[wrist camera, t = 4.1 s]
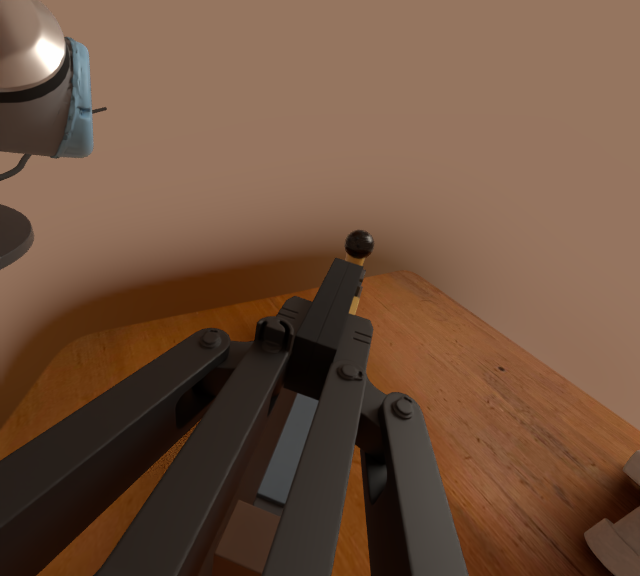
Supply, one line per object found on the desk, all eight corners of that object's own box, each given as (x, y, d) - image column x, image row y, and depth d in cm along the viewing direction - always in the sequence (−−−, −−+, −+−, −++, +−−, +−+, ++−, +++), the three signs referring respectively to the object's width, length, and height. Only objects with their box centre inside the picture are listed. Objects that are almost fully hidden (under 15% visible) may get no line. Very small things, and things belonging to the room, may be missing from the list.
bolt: (340, 346, 28) (376, 241, 22) (316, 338, 28) (346, 232, 23) (353, 303, 34) (384, 212, 28) (333, 296, 34) (360, 204, 29)
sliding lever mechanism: (289, 641, 18) (327, 590, 13) (179, 590, 19) (174, 524, 14) (362, 332, 43) (384, 272, 38) (312, 315, 43) (328, 254, 38)
